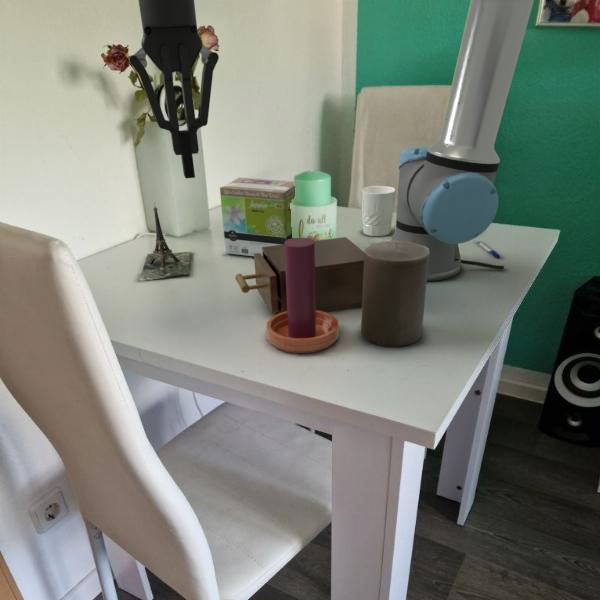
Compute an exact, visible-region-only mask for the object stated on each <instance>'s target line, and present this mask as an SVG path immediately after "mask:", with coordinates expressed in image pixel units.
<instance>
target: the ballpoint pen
mask: <svg viewBox="0 0 600 600" xmlns="http://www.w3.org/2000/svg"><path fill="white" fill-rule="evenodd" d="M477 244H478V246H480V247H482V248H483V249H484V250H485V251H487V252H488V253H489V254H490V255H492V256H493V257H494V258H496V259H501V255H500V254H499V253H498V252H497V251H495V250H494V249H493V250H492V249H490V247H488V246H486V245H485V244H484V243H483V242H480V241H479V242H478V243H477Z"/></svg>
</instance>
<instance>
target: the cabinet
mask: <svg viewBox="0 0 600 600" xmlns="http://www.w3.org/2000/svg"><path fill="white" fill-rule="evenodd" d="M314 242H315V304H316V310H320V311H323V312H332V311H340V310H346V309H352V308H353V309H354V308H359V307H362V296H363V273H364V251H363V250H362V249H361V248H360V247H359V246H357V244H355V243H354V242H353V241H352V240H350V239H349V238H348V237H346V236H343V237H335V238H327V239H319V240H314ZM262 255H263V258H264V259H265V260H266V262H267V263H268V259H269V260H270V262H271V263H272V265H273V266H274V267H275V269H276V270H277V271H278V273H279V275H280V294H281V303H280V302H279V300H278V314H279V313H282V312H285V311H287V290H286V267H285V245H276V246H267V247H262Z"/></svg>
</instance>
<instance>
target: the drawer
mask: <svg viewBox="0 0 600 600" xmlns="http://www.w3.org/2000/svg"><path fill="white" fill-rule="evenodd" d="M253 260H254V274H247V275H243V274H241V273H237V274H236V275H235V276H234V277H235V278H234V279H235V281H236V282H237V285H238V287H239V288H240V290H241V292H242V293H243V294H248V293H249V292H250V291H251V290H257V292H258V293H259V296H261V298H262V300H263V302H264V304H265V305H266V307H267V308H268V310H269V311H270V313H271V314H279V311H278V300H279V302H280V303H281V294H280V275H279V273H278V271H277V270H276V269H275V267H274V266H273V265H272V263H271V262H270V260H269V259H268V263H267V262H266V260H265V259H264V258H263V256H262V255H261V254H260V253H256V254H254V256H253ZM253 279H255V284H250V285H249V284H248V283H247V280H253Z"/></svg>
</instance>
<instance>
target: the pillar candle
mask: <svg viewBox="0 0 600 600" xmlns="http://www.w3.org/2000/svg"><path fill="white" fill-rule="evenodd" d="M363 252H364V273H363V296H362V306H361V323H360V326H361V327H360V332H361V336H362V337H363V338H364V339H365V340H366V341H368V342H369V343H372V344H374V345H379V346H383V347H389V348H395V347H405V346H409V345H412V344H415V343H416V342H418V341H419V340H420V339H421V338H422V333H423V325H424V324H423V323H424V314H425V304H426V294H427V282H428V281H427V274H428V263H429V248H427V247H426V246H423V245H419V244H417V243H412V242H402V241H391V240H382V241H378V242H375V243H372V244H369V245H367V246H366V247H365V248H364V251H363Z"/></svg>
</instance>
